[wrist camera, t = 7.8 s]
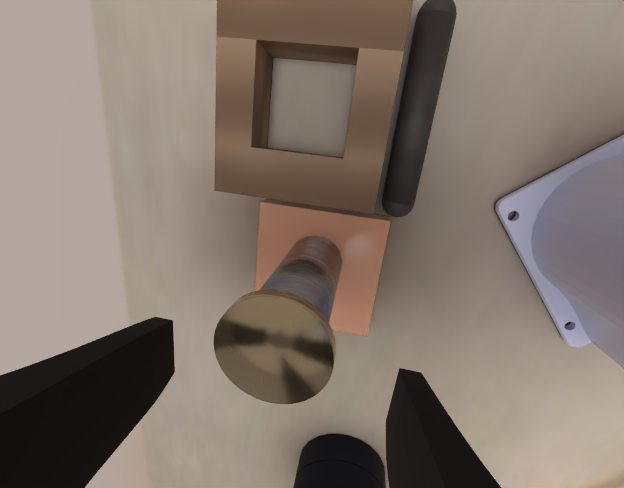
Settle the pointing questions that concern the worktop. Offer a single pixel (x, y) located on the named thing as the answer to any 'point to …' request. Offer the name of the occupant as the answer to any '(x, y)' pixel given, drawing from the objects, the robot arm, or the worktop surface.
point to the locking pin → (284, 327)
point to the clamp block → (364, 106)
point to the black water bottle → (339, 464)
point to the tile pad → (348, 239)
